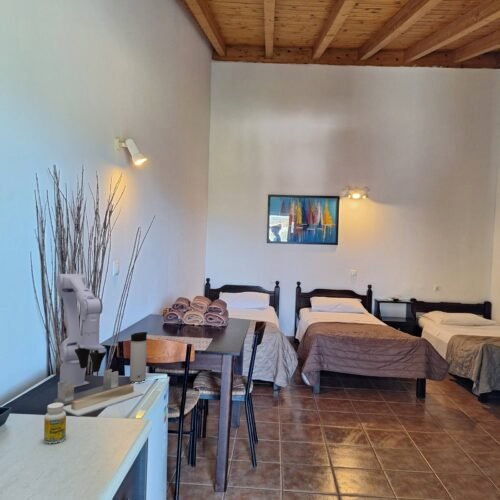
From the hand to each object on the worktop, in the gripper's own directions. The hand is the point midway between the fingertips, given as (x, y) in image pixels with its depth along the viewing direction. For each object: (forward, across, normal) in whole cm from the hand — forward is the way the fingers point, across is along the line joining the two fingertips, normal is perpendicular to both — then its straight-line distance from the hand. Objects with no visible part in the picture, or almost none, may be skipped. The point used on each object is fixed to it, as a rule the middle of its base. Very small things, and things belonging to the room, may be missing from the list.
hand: (89, 369), depth 146 cm
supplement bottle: (+10, +24, -26) cm, 37 cm away
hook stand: (+9, 0, 0) cm, 9 cm away
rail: (+9, +9, 0) cm, 13 cm away
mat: (+9, +9, 0) cm, 13 cm away
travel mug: (+10, 0, +22) cm, 24 cm away
